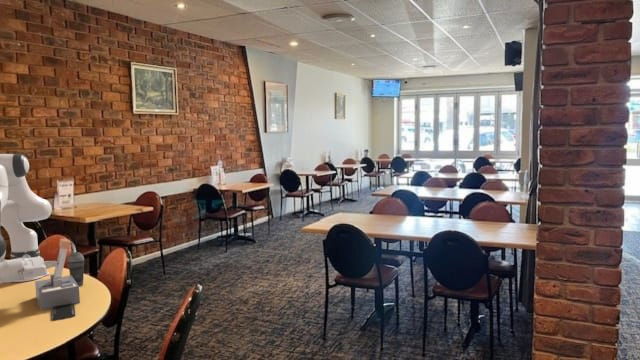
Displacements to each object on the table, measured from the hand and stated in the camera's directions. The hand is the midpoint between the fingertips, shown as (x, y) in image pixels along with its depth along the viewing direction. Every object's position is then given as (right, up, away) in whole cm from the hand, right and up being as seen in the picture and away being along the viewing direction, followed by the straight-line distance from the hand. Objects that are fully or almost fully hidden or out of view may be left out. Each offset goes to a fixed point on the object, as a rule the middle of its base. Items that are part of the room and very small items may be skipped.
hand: (57, 263), depth 197 cm
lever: (-1, -7, 0) cm, 7 cm away
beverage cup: (-2, -14, +21) cm, 25 cm away
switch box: (0, -16, +1) cm, 16 cm away
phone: (+10, -17, -13) cm, 24 cm away
